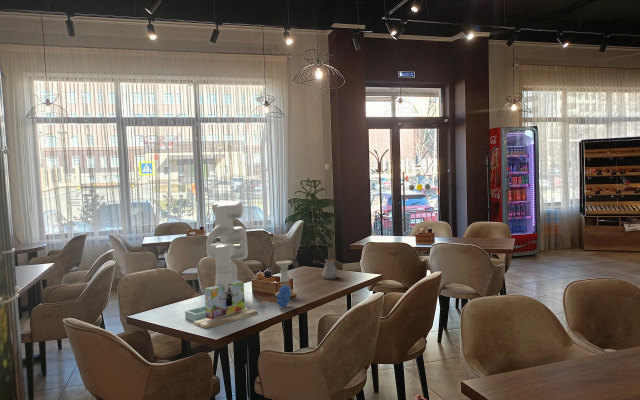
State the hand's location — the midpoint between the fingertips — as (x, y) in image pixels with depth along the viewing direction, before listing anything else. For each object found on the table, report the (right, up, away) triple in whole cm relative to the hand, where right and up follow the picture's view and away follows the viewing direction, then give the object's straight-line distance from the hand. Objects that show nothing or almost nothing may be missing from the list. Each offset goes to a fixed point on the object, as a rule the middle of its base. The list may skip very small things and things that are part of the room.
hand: (225, 304), depth 233 cm
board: (0, -7, 0) cm, 7 cm away
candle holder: (+27, -4, +43) cm, 51 cm away
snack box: (0, -5, 0) cm, 5 cm away
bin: (-9, -7, +10) cm, 15 cm away
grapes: (+28, -5, +18) cm, 33 cm away
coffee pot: (+51, -2, +81) cm, 96 cm away
